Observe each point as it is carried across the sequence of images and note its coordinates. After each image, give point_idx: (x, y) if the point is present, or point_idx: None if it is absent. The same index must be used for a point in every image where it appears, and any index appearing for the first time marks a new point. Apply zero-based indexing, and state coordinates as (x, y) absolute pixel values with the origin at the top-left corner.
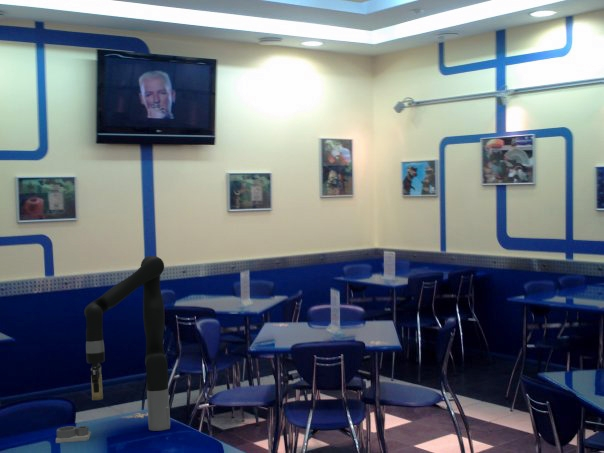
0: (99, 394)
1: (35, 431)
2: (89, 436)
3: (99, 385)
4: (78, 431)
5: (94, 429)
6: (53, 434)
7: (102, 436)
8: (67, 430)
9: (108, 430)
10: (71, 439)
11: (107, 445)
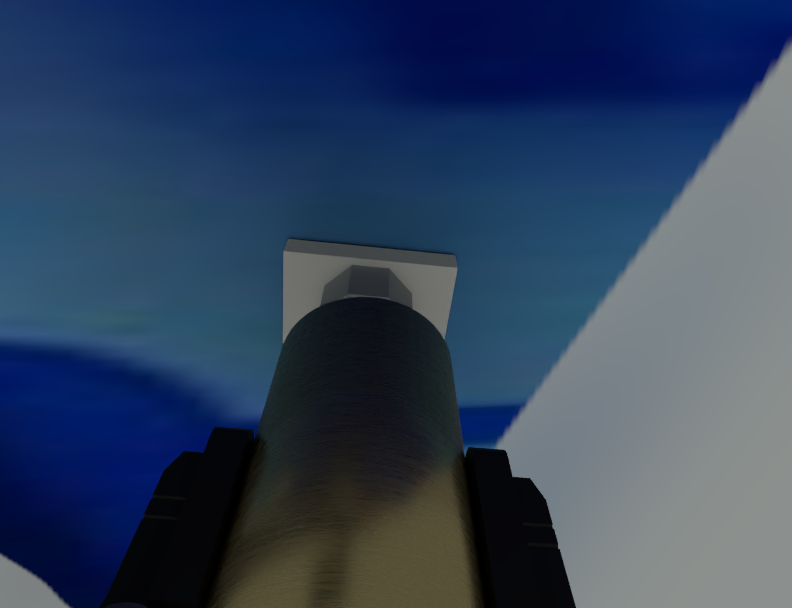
0: (451, 400)
1: (92, 527)
2: (366, 248)
3: (467, 551)
4: None
5: (111, 212)
6: (189, 449)
7: (367, 145)
8: None
9: (173, 92)
10: None
11: (685, 103)
